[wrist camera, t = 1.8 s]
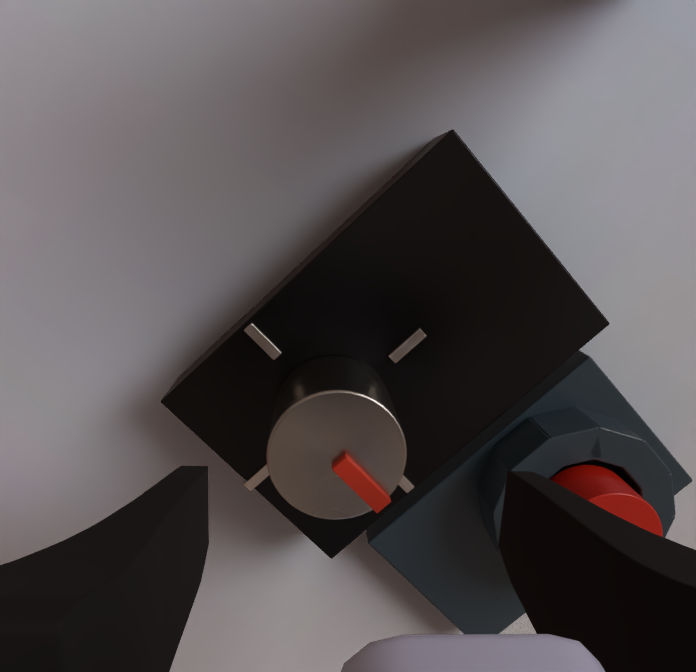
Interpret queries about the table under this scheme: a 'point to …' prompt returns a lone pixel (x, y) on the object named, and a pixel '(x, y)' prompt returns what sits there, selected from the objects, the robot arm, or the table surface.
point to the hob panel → (399, 326)
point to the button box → (490, 481)
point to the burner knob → (335, 440)
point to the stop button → (610, 495)
